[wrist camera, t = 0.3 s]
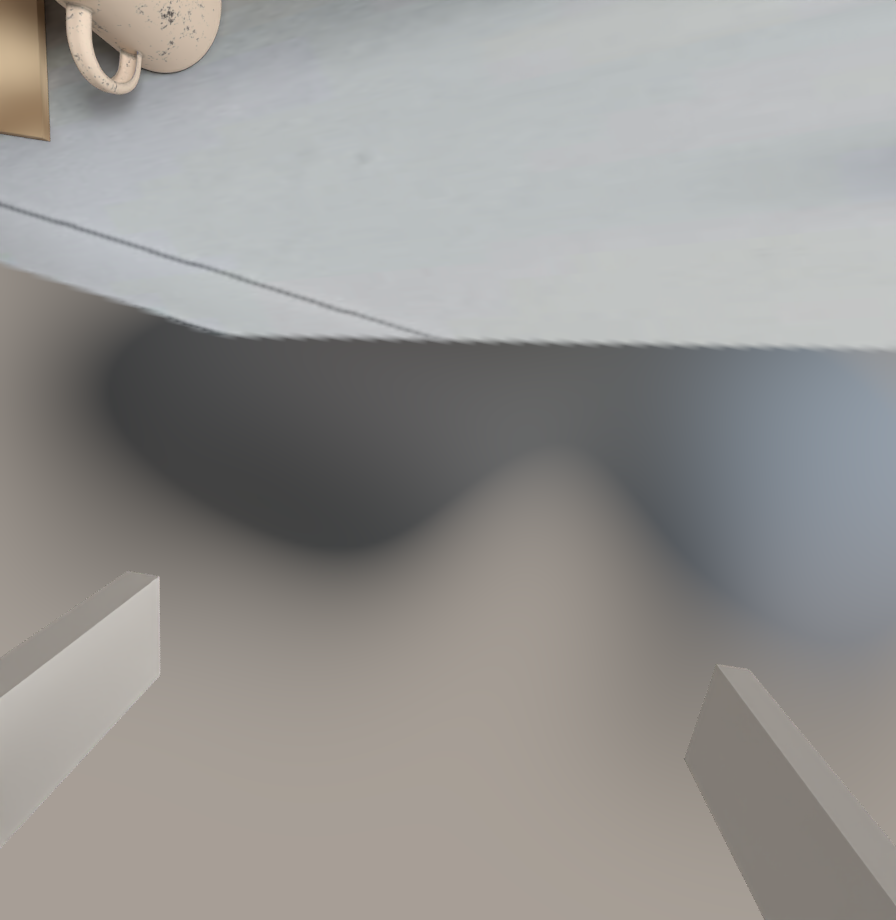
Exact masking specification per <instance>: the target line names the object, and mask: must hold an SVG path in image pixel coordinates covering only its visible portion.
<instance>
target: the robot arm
mask: <svg viewBox="0 0 896 920" xmlns="http://www.w3.org/2000/svg"><path fill="white" fill-rule="evenodd" d="M159 582H160V581H159V576H156V575H150V574H144V573H137V572H131V571H127V572H125V573H124V574H122V575H121V576H119V577H118V578H117V579H115V580H113V581H112V582H110V583H109V584H108V585H106V586H105V587H103V588H102V589H100V590H99V591H97V592H96V593H94V594H93V595H91V596H90V597H88V598H87V599H85V600H84V601H83V602H81V603H80V604H78V605H77V606H75V607H74V608H72V609H71V610H69V611H68V612H66V613H65V614H64V615H62V616H60V617H59V618H58V619H56V620H55V621H53V622H52V623H50V624H49V625H47V626H46V627H44V628H43V629H41V630H40V631H38V632H37V633H35V634H34V635H33V636H31V637H30V638H28V639H27V640H25V641H24V642H22V643H21V644H19V645H18V646H16V647H15V648H13V649H12V650H11V651H9V652H8V653H6V654H5V655H3V656H2V657H0V849H1V847H2V846H3V845H4V844H5V843H6V842H7V841H8V840H9V839H10V837H12V835H13V834H14V833H15V832H16V831H17V830H18V829H19V828H20V827H21V826H22V825H23V824H24V822H25V821H26V820H27V819H28V818H29V817H30V816H31V815H32V814H33V813H34V811H36V809H37V808H38V807H39V806H40V805H41V804H42V803H43V802H44V801H45V800H46V798H48V796H49V795H50V794H51V793H52V792H53V791H54V790H55V789H56V788H57V787H58V786H59V784H60V783H61V782H62V781H63V780H64V779H65V778H66V777H67V776H68V775H69V774H70V773H71V771H72V770H73V769H74V768H75V767H76V766H77V765H78V764H79V763H80V762H81V761H82V760H83V758H84V757H85V756H86V755H87V754H88V753H89V752H90V751H91V750H92V749H93V748H94V747H95V745H96V744H97V743H98V742H99V741H100V740H101V739H102V738H103V737H104V736H105V735H106V733H107V732H108V731H109V730H110V729H111V728H112V727H113V726H114V725H115V723H117V722H118V720H119V719H120V718H121V717H122V716H123V715H124V714H125V713H126V712H127V711H128V709H130V707H131V706H132V705H133V704H134V703H135V702H136V701H137V700H138V699H139V698H140V697H141V695H142V694H143V693H144V692H145V691H146V690H147V689H148V688H149V687H150V686H151V685H152V683H153V682H154V681H155V680H156V679H157V678H158V677H159V676H160V590H159V589H160V586H159V585H160V583H159ZM684 760H685V762H686V764H687V766H688V768H689V770H690V772H691V774H692V776H693V778H694V780H695V782H696V784H697V786H698V788H699V790H700V792H701V794H702V796H703V798H704V800H705V802H706V804H707V806H708V808H709V810H710V812H711V814H712V816H713V818H714V820H715V822H716V824H717V826H718V828H719V830H720V832H721V834H722V836H723V838H724V840H725V842H726V844H727V846H728V848H729V850H730V852H731V854H732V856H733V858H734V860H735V862H736V864H737V866H738V868H739V870H740V872H741V874H742V876H743V878H744V880H745V882H746V884H747V886H748V888H749V890H750V892H751V894H752V896H753V898H754V900H755V902H756V904H757V906H758V908H759V910H760V912H761V914H762V916H763V918H764V920H896V846H895V844H894V843H893V842H892V841H891V840H890V838H889V837H888V836H887V835H886V834H885V832H884V831H883V830H882V829H881V828H880V826H879V825H878V824H877V823H876V822H875V820H874V819H873V818H872V817H871V816H870V814H869V813H868V812H867V811H866V810H865V808H864V807H863V806H862V805H861V804H860V802H859V801H858V800H857V799H856V797H855V796H854V795H853V794H852V793H851V791H850V790H849V789H848V788H847V787H846V786H845V784H844V783H843V782H842V781H841V779H840V778H839V777H838V776H837V775H836V773H835V772H834V771H833V770H832V769H831V767H830V766H829V765H828V764H827V763H826V761H825V760H824V759H823V758H822V757H821V755H820V754H819V753H818V752H817V751H816V749H815V748H814V747H813V746H812V744H811V743H810V742H809V741H808V740H807V738H806V737H805V736H804V735H803V734H802V732H801V731H800V730H799V729H798V728H797V727H796V725H795V724H794V723H793V722H792V720H791V719H790V718H789V717H788V716H787V714H786V713H785V712H784V711H783V710H782V709H781V707H780V706H779V705H778V704H777V703H776V701H775V700H774V699H773V697H772V696H771V695H770V694H769V693H768V692H767V690H766V689H765V688H764V687H763V685H762V684H761V683H760V682H759V681H758V680H757V678H756V677H755V676H754V675H753V673H752V672H751V671H750V670H749V669H745V668H738V667H732V666H725V665H719V664H716V666H715V669H714V672H713V675H712V678H711V681H710V684H709V687H708V690H707V693H706V696H705V698H704V701H703V704H702V707H701V710H700V714H699V716H698V720H697V722H696V725H695V728H694V731H693V734H692V737H691V740H690V743H689V746H688V749H687V753H686V755H685V758H684Z"/></svg>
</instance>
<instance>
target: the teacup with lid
mask: <svg viewBox="0 0 896 920" xmlns="http://www.w3.org/2000/svg"><path fill="white" fill-rule="evenodd" d="M56 1H57V2H58V3H59V4H61V5H62V6H63V7H64V8H65V9H66V32H67V39H68V44H69V48H70V51H71V54H72V56H73V59H74V61H75V63H76V65H77V67H78V69H79V71H80V72H81V74H82V75H83V76H84V77H85V78H86V80H87V81H88V82H90V83H91V84H92V85H93V86H95V87H96V88H98V89H100V90H102V91H104V92H108V93H112V94H126V93H129V92H130V91H132V90H133V89H134V88H135V87H136V85H137V83H138V80H139V77H140V72H141V67H142V68H144V69H147V70H150V71H154V72H160V73H172V72H177V71H181V70H184V69H186V68H188V67H190V66H192V65H194V64H195V63H196V62H198V61H199V60H200V59H201V58H202V57H203V56H204V55H205V54H206V52H207V51H208V50H209V48H210V46H211V45H212V43H213V41H214V39H215V36H216V34H217V31H218V27H219V23H220V18H221V0H56ZM92 30H93V31H94V32H95V33H96V34H97V35H99V36H100V37H101V38H102V39H104V40H105V41H106V42H107V43H108V44H110V45H111V46H112V47H113V48H115V49H116V50H117V51H118V52H120V58H119V65H118V69H117V72H116V74H115V75H114V76H113V77H112V78H109V77H108V76H107V75H106V74H105V73H104V72H103V71H102V69H101V68H100V66H99V63H98V61H97V59H96V56H95V53H94V49H93V43H92Z"/></svg>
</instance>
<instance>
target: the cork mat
mask: <svg viewBox="0 0 896 920" xmlns="http://www.w3.org/2000/svg"><path fill="white" fill-rule="evenodd" d="M0 134H7V135H13V136H19V137H26V138H32V139H38V140H45V141H50V124H49V101H48V79H47V56H46V34H45V11H44V0H0Z"/></svg>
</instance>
